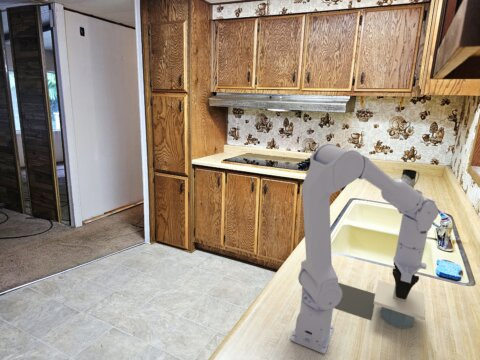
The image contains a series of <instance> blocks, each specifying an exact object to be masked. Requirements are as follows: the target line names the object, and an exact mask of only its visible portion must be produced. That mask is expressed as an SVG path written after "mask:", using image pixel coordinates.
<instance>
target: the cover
mask: <svg viewBox="0 0 480 360" xmlns="http://www.w3.org/2000/svg"><path fill="white" fill-rule="evenodd" d="M374 293H375V298H374V303H373V304H375V305H376V306H379V307H381V308H382V307H384V308H388V309H391V310H394V311H397V312H400V313H403V314H406V315H409V316H412V317H415V318H416V319H419V320H423V321H426V306H425V305H426V303H425V301H426V300H425V293H424V292H421V291H418V290H415V289H413V288H411V290H410V292H409V294H408V296H407V298H406V299H405V300H404V299H401V298H397V297H396V284H395V283H390V282H387V281H383V280H380V279H378V280H377V284H376V290H375V292H374ZM375 305H374V306H375Z"/></svg>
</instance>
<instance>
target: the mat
mask: <svg viewBox="0 0 480 360" xmlns="http://www.w3.org/2000/svg"><path fill="white" fill-rule="evenodd" d="M338 284H339V286H340V288H341V290H342V298H341V301H340V302H339V304H338V305H337V306H336V307H335V308H334V309H336V310H338V311H342V312H344V313H347V314H351V315H353V316H357V317H360V318H362V319H364V320H365V319H366V320H369V321H372V319H373V313H374V309H375V304H373V303H374V298H375V293H376V292H371V291H368V290H364V289H361V288H357V287H354V286H350V285H348V284H344V283H341V282H338Z"/></svg>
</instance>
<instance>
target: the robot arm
mask: <svg viewBox="0 0 480 360" xmlns="http://www.w3.org/2000/svg"><path fill="white" fill-rule="evenodd" d="M309 158H310V159H309V161H310V164H309V168H308V170H307V173H306V175H305V177H304V180H303V182H302V184H301V185H302V186H301V190H302V191H301V193H302V209H303V210H302V211H303V225H304V226H303V228H304V230H303V231H304V245H305V247H304V248H305V259H304V260H303V261H301V262H300V267H301V268H300V271H299V274H298V278H297V279H298V282H299V283H298V284H300V286H301V297H300V298H301V301H300V308H299V313H298V314H297V317H296V321H295V328H294V330H293V332H292V334H291V335H290V339H289V341H291V342H294V343H296V344H298V345H301V346H304V348H305V347H306V348H308V349H311V350H313V351H314V352H315V351H316V352H317V353H318V352H319V353H320V354H326V353H327V349H328V347H329V344H330V341H331V339H332V336H333V333H334V330H335V326H333V325H332V319H333V312H334V309H335V307H336V306H337V305H338V304H339V302H340V301H341V298H342V290H341V288H340V286H339V284H338V283H339V279H338V275H337V273H336V271H335V269H334V266H333V265H332V262H333V261H332V235H331V234H332V233H331V231H332V230H331V205H330V204H331V202H330V200H331V199H330V198H331V196H332V195H333V194H335V193H337V192H339V191H340V190H341V189H343V188H345V187H347V186H348V185H350V184H351V183H353V182H355V181H356V180H357V179H358V180H365V181H367V182H368V183H370V184H371V185H373V186H375V187H376V188H377V189H379V190H381V191H380V194H381V197H382V199H383V200H384V201H385V202H387V203H389V204H390V205H391V206H392V207H394V208H395V209H397V212H398V213H399V214H400V215H401V214H402V215H401V221H400V225H399V226H400V227H399V231H398V232H399V233H398V236H397V237H398V238H397V243H396V248H395V252H394V253H395V254H394V256H393V259H392V260H393V261H392V262H393V265H394V268H392V276H393V278H394V285H395V284H396V297H397V298H401V299H404V300H405V299H406V298H407V296H408V294H409V292H410V290H411V289H413V287H414V285H416V284H417V283H418V282H419V280H420V276H419V275H416V274H417V273H418V272H419V271H420V270H421V269H422V270H427V267H428V266H427V263H425V262H422V261H423V256H424V251H425V247H426V242H427V236H428V233H429V232H428V231H430V230H431V228H432V227H433V226H432V225H433V224H434V221H436V219H437V218H438V216H439V212H440V211H439V210H438V206H437V204H436V202H435V200H433V199H430V198H427V197H425V196H423V191H421V190H419V189H415V187H414V188H412V187H411V186H410V185H408V184H410V182H409V181H408V180H406V179H403V178H402V179H401V178H399V177H395V178H391V177H390V176H389V175H388V174H387V173H386V172H384V170H382V169H381V168H380V167H379V166H378V165H376V164H375V162H373V161H372V160H371V159H370V158H369V157H368V156H365V155H363V154H361V153H360V152H359V151H357V150H354V149H347V148H344V147H340V146H338V145H337V146H336V145H334V144H332V143H325V144H322V145H320V146H319V147H318V148H317V149H316V150H315V151H314V152H313V153H312V154H311V155H310V157H309Z"/></svg>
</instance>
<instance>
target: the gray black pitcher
mask: <svg viewBox="0 0 480 360" xmlns="http://www.w3.org/2000/svg"><path fill="white" fill-rule="evenodd" d="M400 177H401V178H400V179H402V178H403V179H406V180H408V181H409V182H410V184H408V185H410V186H411V187H412V188H414V189H415V186H416V184H417V183H418V181H419V179H420V172H419V171H417V170H415V169H409V168H408V169H407V168H405V169H403V170H402V174H401V176H400ZM416 177H417V179H416Z"/></svg>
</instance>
